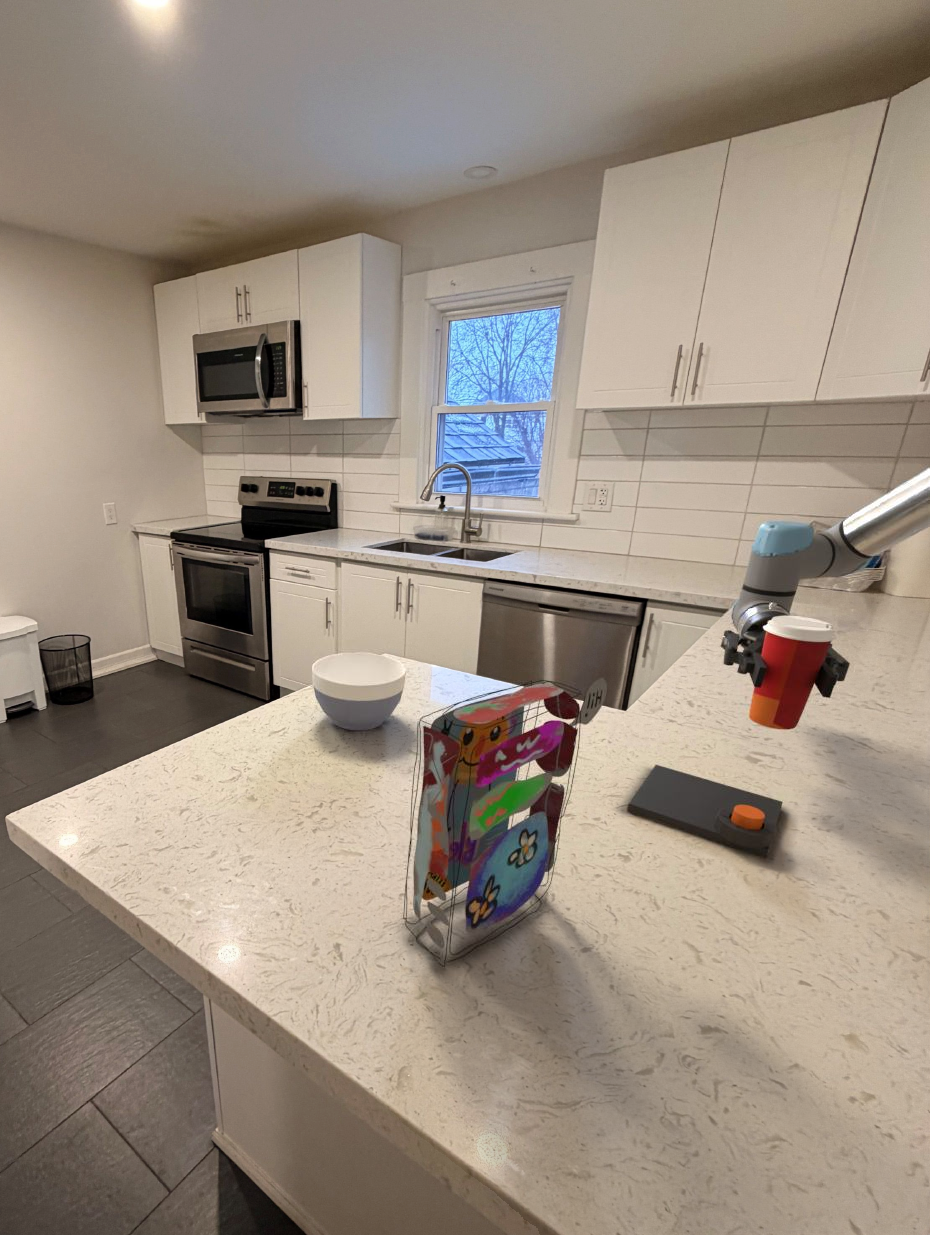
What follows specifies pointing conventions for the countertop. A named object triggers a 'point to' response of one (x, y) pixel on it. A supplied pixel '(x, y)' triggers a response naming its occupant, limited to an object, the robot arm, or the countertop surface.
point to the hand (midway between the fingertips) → (794, 682)
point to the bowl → (358, 688)
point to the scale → (705, 808)
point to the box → (492, 803)
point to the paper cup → (789, 669)
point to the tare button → (748, 817)
